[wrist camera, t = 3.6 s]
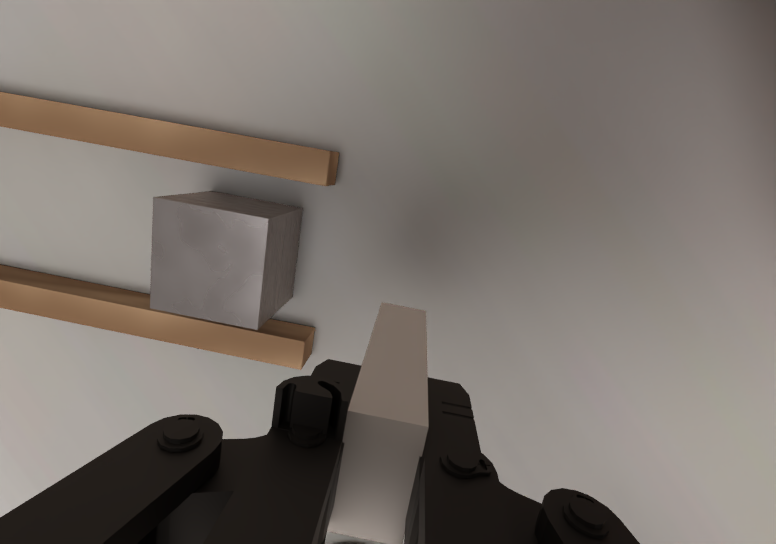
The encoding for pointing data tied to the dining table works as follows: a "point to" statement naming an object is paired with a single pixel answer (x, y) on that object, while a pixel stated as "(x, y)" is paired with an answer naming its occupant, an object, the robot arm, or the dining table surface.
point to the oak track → (133, 308)
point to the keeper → (223, 257)
